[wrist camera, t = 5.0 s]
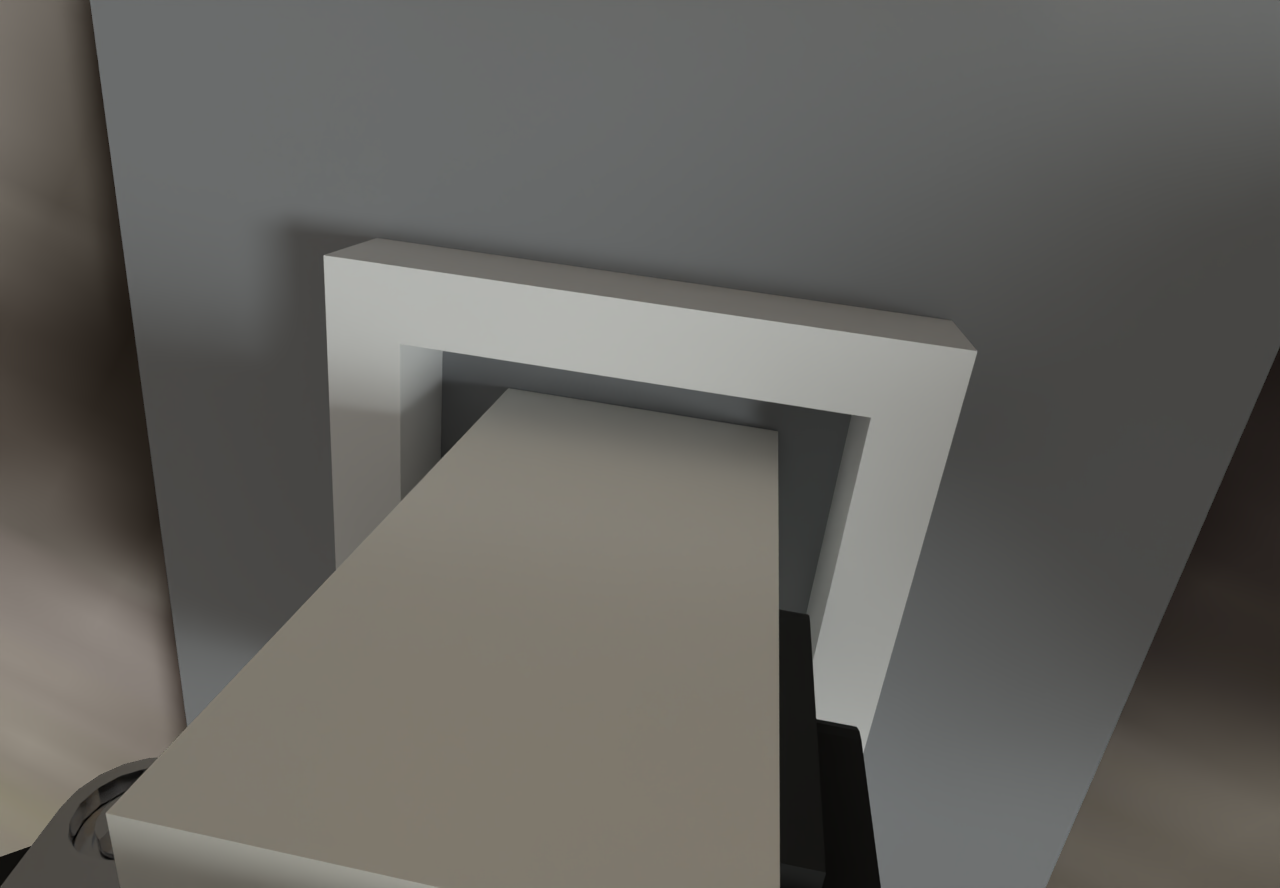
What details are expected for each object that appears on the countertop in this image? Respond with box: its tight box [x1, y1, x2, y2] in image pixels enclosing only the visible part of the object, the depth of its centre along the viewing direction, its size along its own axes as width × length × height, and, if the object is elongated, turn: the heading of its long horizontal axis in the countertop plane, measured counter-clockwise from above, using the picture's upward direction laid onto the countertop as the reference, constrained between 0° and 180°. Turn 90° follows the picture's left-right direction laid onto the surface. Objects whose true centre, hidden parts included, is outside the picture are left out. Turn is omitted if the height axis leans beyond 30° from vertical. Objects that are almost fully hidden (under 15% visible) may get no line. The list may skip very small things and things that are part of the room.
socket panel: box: [90, 0, 1280, 888], centre depth 10 cm, size 16×30×2 cm, turn 173°
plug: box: [106, 388, 780, 888], centre depth 9 cm, size 4×6×9 cm, turn 173°
